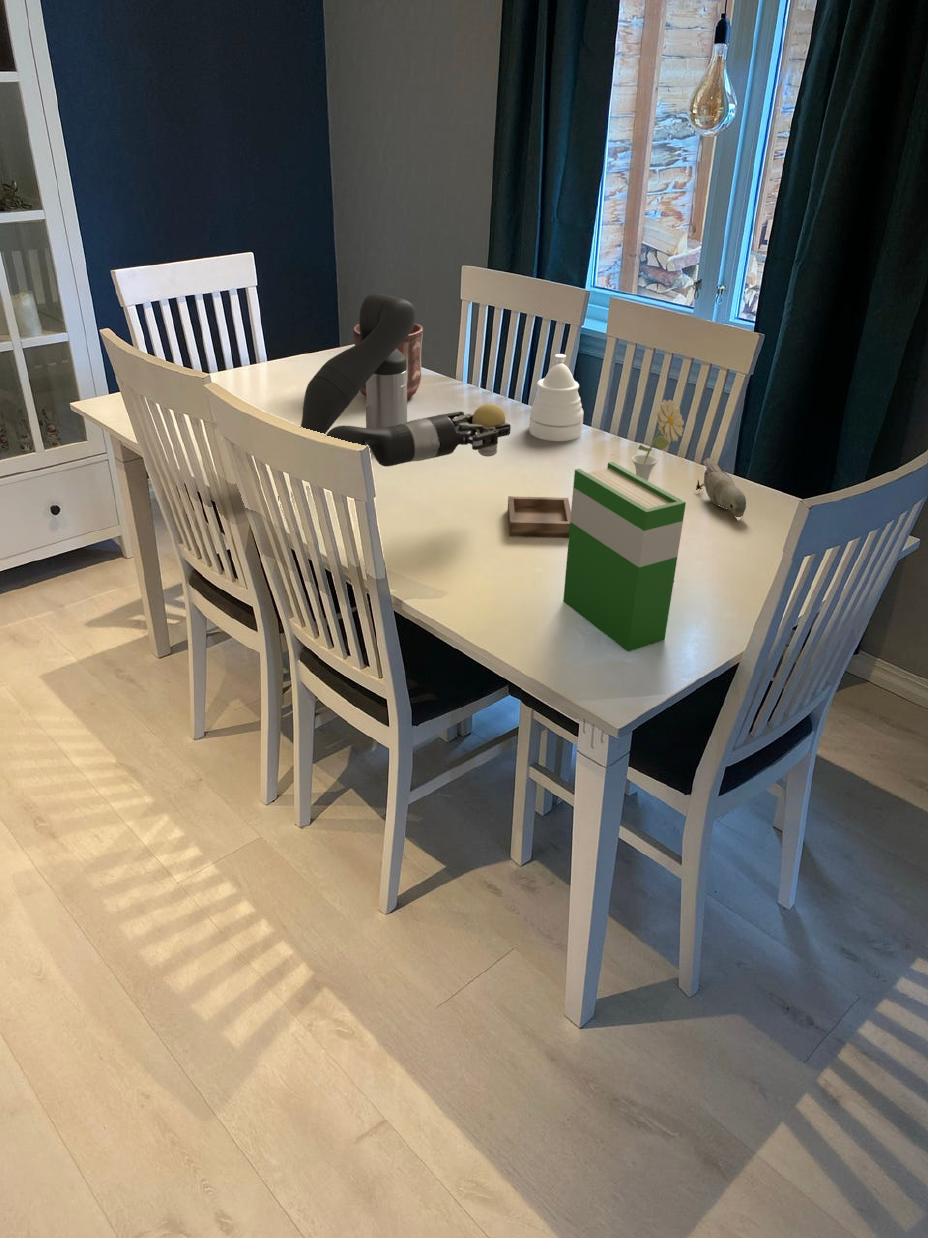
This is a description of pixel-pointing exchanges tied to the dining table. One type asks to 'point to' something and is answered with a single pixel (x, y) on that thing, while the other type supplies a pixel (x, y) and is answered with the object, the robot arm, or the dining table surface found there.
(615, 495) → the hardback book
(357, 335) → the pottery
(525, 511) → the walnut tray
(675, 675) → the dining table surface
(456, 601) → the dining table surface
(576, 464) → the dining table surface
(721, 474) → the decorative bird
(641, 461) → the flower in vase
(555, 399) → the honey pot
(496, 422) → the light bulb
